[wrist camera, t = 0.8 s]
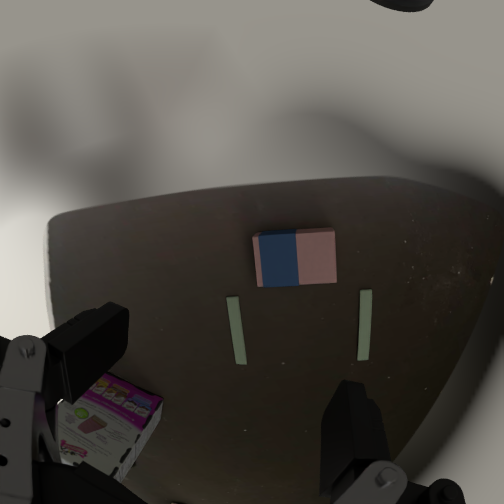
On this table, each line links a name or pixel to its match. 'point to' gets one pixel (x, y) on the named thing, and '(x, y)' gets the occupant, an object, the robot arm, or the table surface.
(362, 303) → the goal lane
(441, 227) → the table surface
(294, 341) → the table surface
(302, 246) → the eraser
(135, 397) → the candy bar box
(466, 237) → the table surface
